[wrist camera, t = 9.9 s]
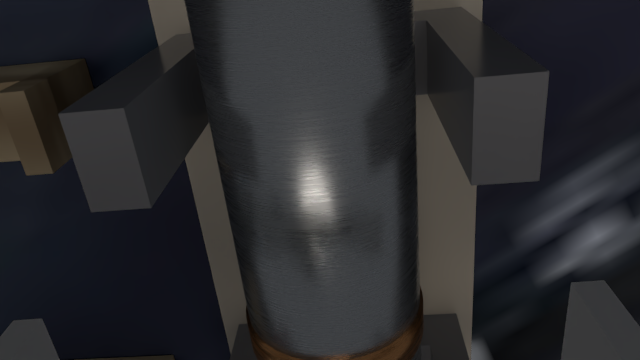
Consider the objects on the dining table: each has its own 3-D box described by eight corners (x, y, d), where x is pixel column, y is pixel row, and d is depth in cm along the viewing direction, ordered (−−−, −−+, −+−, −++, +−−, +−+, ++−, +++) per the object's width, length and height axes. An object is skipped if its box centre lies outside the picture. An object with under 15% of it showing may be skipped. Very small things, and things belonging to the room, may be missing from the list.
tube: (415, 395, 25) (438, 532, 19) (285, 402, 25) (271, 538, 20) (399, -147, 15) (435, -186, 10) (190, -122, 16) (109, -146, 10)
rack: (185, 394, 29) (159, 469, 25) (33, 400, 30) (-15, 474, 26) (84, 58, 21) (23, 90, 17) (-122, 78, 22) (-227, 113, 18)
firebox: (465, 377, 28) (522, 591, 19) (244, 385, 29) (200, 594, 20) (478, -82, 18) (606, -84, 9) (147, -45, 19) (-23, -16, 10)
